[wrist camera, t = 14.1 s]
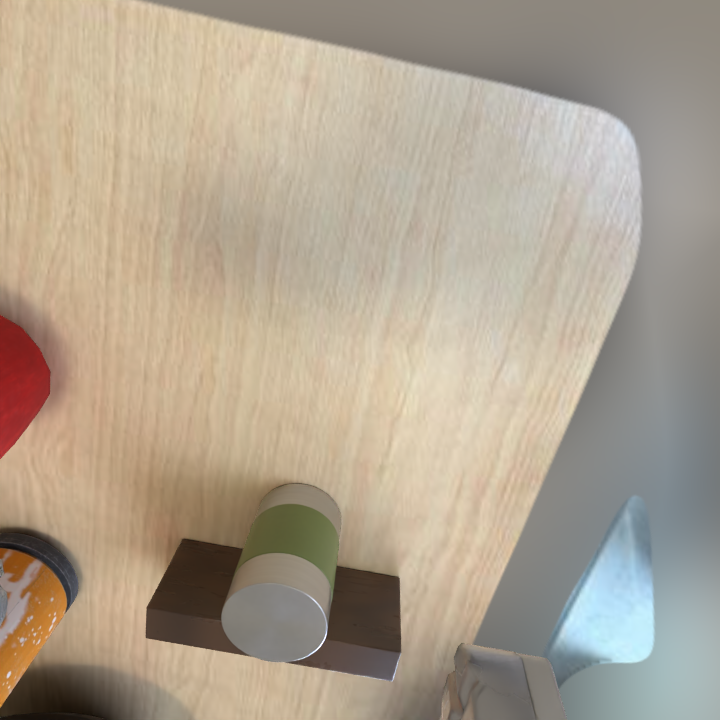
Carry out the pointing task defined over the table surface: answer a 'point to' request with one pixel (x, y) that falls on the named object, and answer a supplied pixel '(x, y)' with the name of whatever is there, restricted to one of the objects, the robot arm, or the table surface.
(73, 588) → the canister
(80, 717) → the plate
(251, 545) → the can
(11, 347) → the apple
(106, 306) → the table surface
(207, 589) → the brown wooden block
